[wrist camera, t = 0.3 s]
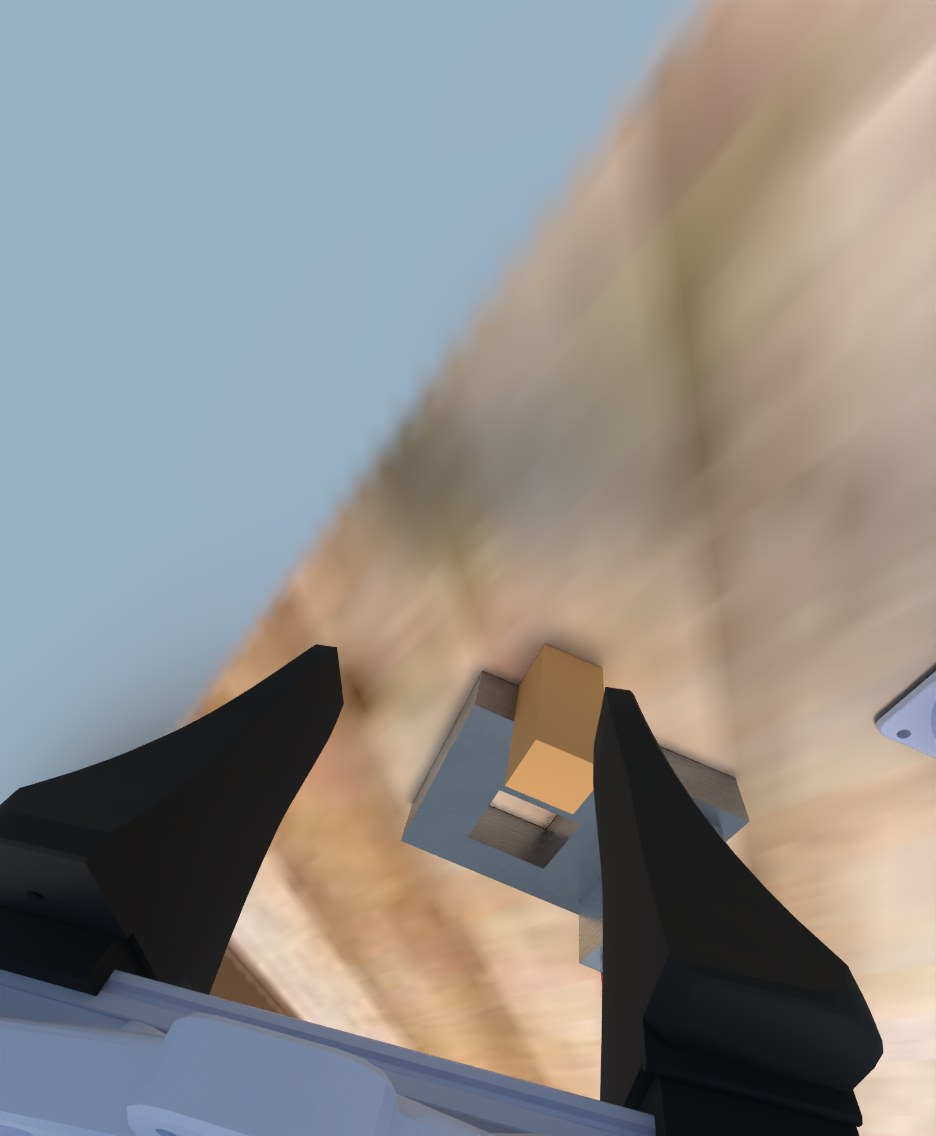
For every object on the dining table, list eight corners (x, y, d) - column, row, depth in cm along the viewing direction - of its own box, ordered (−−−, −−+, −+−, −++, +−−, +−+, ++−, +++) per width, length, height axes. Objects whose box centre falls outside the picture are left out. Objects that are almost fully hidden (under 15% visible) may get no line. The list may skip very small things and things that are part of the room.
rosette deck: (735, 778, 26) (775, 900, 21) (618, 890, 32) (626, 1006, 27) (482, 671, 26) (459, 767, 20) (412, 804, 32) (380, 905, 27)
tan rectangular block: (601, 668, 24) (609, 770, 19) (573, 709, 26) (573, 814, 21) (544, 643, 24) (536, 739, 19) (519, 686, 26) (504, 785, 21)
